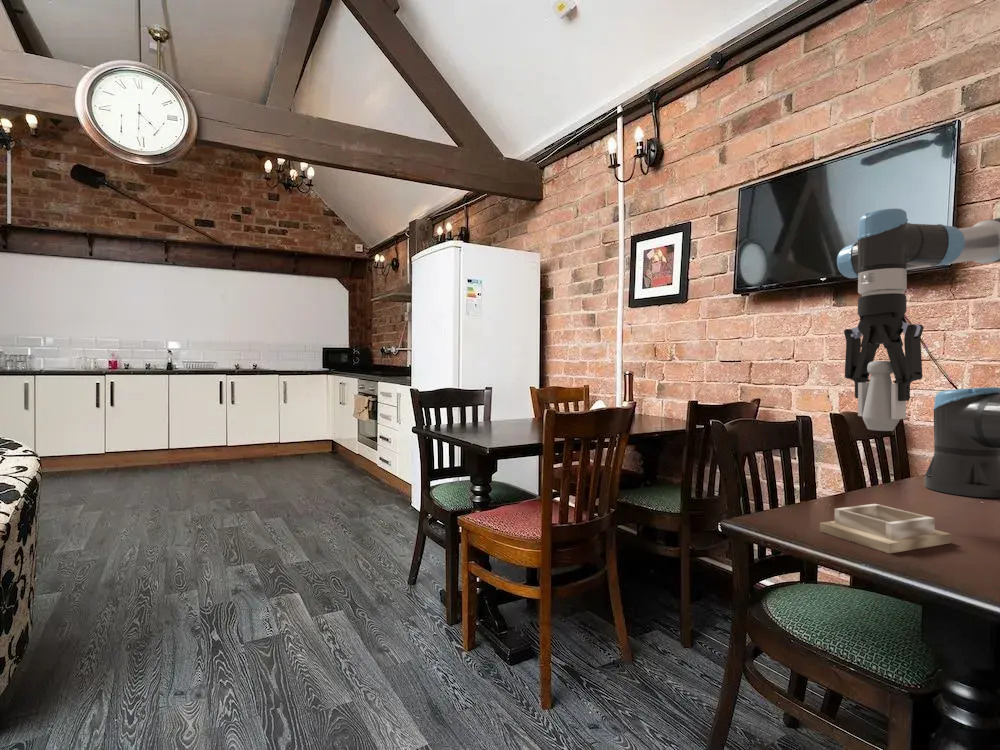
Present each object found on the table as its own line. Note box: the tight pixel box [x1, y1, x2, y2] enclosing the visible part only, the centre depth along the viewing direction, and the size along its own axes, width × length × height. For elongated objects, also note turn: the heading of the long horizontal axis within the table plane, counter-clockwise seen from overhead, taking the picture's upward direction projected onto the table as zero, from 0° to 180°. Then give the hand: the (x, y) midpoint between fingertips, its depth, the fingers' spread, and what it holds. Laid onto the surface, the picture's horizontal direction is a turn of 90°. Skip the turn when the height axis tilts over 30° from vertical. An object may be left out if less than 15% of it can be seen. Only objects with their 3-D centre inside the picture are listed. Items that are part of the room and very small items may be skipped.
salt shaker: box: [862, 360, 901, 432], centre depth 103 cm, size 6×6×13 cm
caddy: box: [819, 503, 952, 554], centre depth 91 cm, size 14×12×4 cm
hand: (881, 417), depth 103 cm, fingers closed on salt shaker, 6 cm apart
